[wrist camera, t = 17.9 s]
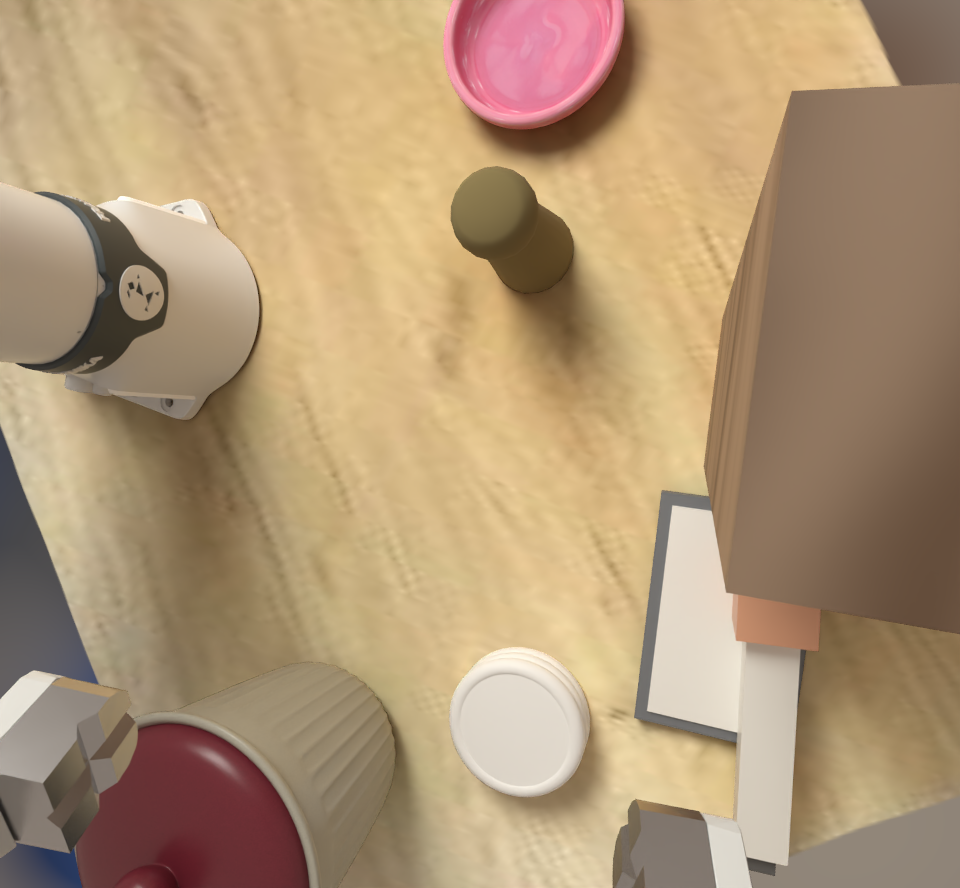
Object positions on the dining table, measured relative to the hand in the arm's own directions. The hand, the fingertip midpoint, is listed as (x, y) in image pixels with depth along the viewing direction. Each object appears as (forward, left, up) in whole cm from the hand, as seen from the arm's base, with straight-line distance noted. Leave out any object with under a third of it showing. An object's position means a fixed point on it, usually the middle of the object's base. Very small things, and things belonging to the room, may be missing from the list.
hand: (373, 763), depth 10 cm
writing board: (+8, -8, -37) cm, 39 cm away
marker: (+11, -12, -36) cm, 39 cm away
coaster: (-5, -18, -38) cm, 42 cm away
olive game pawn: (-8, +16, -37) cm, 42 cm away
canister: (-21, -24, -37) cm, 49 cm away
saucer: (-9, +30, -38) cm, 49 cm away
